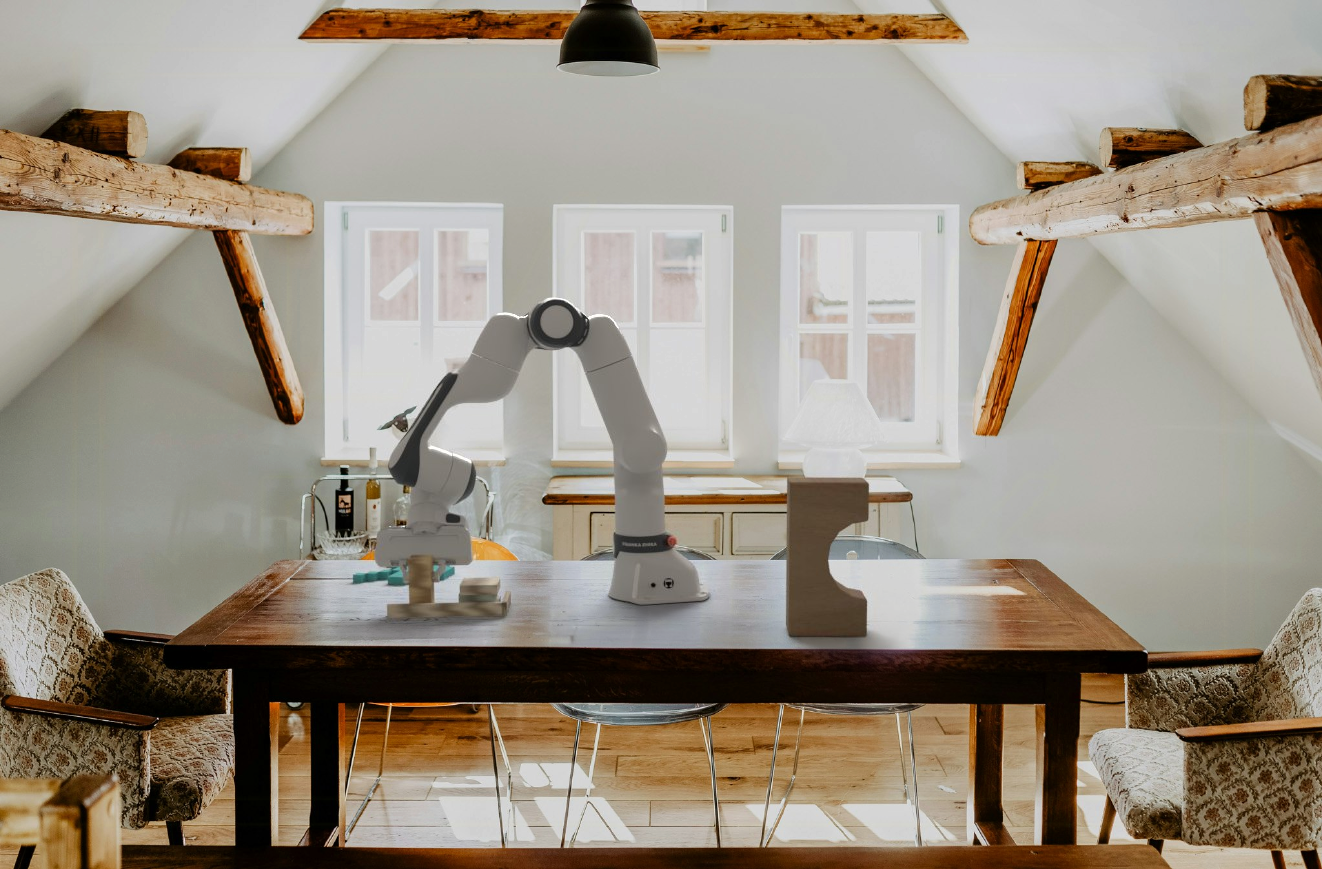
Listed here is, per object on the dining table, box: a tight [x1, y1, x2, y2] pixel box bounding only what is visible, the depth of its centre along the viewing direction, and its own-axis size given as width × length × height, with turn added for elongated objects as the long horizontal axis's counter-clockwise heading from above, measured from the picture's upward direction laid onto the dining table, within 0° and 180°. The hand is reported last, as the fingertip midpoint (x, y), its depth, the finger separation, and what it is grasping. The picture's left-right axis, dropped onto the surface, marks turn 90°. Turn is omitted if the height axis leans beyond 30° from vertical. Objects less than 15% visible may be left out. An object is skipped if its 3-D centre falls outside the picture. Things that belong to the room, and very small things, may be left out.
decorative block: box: [785, 476, 870, 638], centre depth 203 cm, size 15×8×30 cm, turn 87°
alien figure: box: [352, 565, 456, 586], centre depth 254 cm, size 20×2×20 cm
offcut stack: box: [458, 576, 502, 603], centre depth 217 cm, size 8×7×6 cm
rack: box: [386, 590, 512, 619], centre depth 216 cm, size 24×10×4 cm, turn 93°
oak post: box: [408, 555, 436, 603], centre depth 216 cm, size 4×4×11 cm
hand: (420, 581), depth 215 cm, fingers closed on oak post, 4 cm apart
